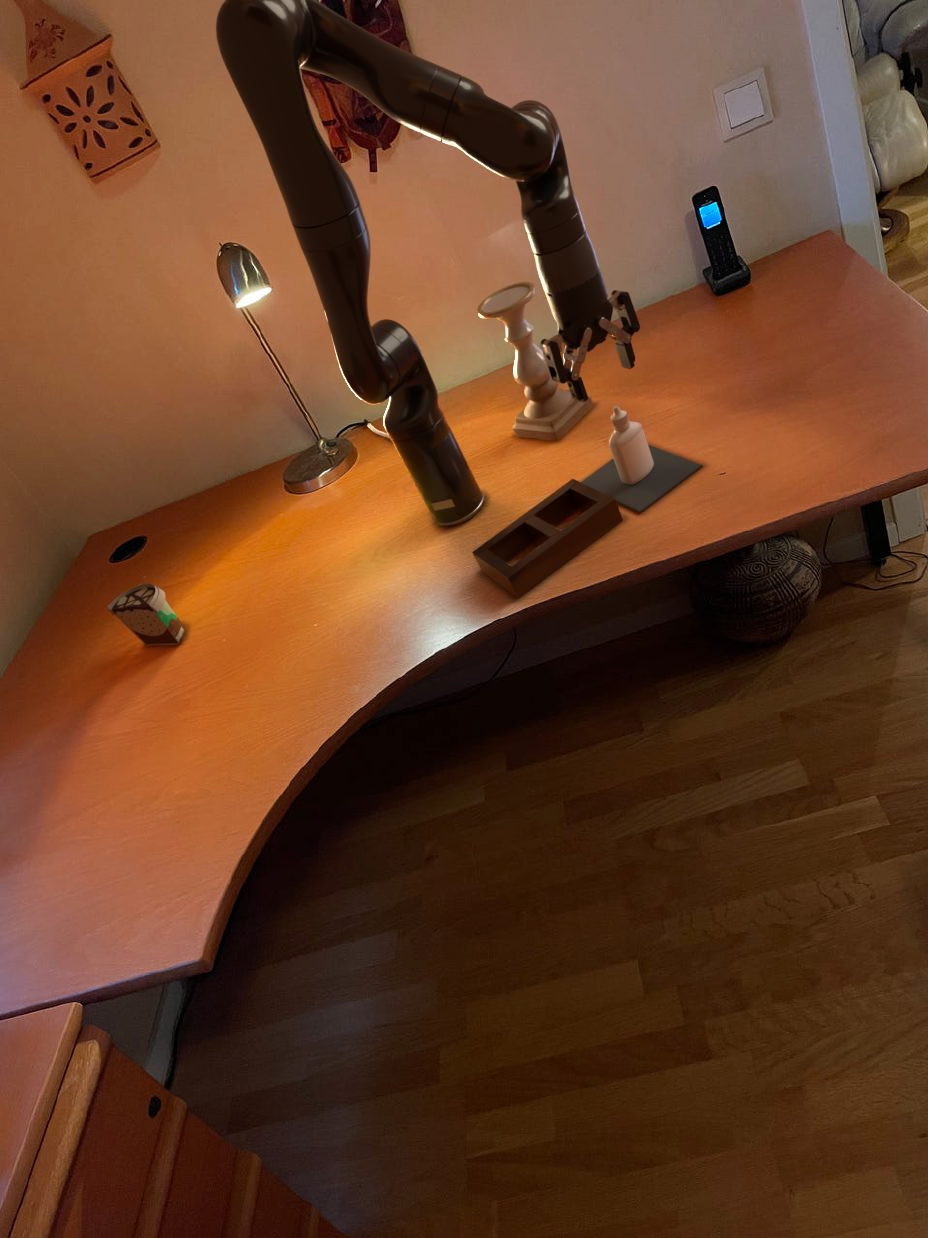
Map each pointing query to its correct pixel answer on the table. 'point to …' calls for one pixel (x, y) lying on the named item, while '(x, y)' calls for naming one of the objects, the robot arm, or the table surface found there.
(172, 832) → the table surface
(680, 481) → the mat
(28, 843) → the table surface
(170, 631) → the food container
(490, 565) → the rack
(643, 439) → the eye dropper bottle
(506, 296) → the candle holder
